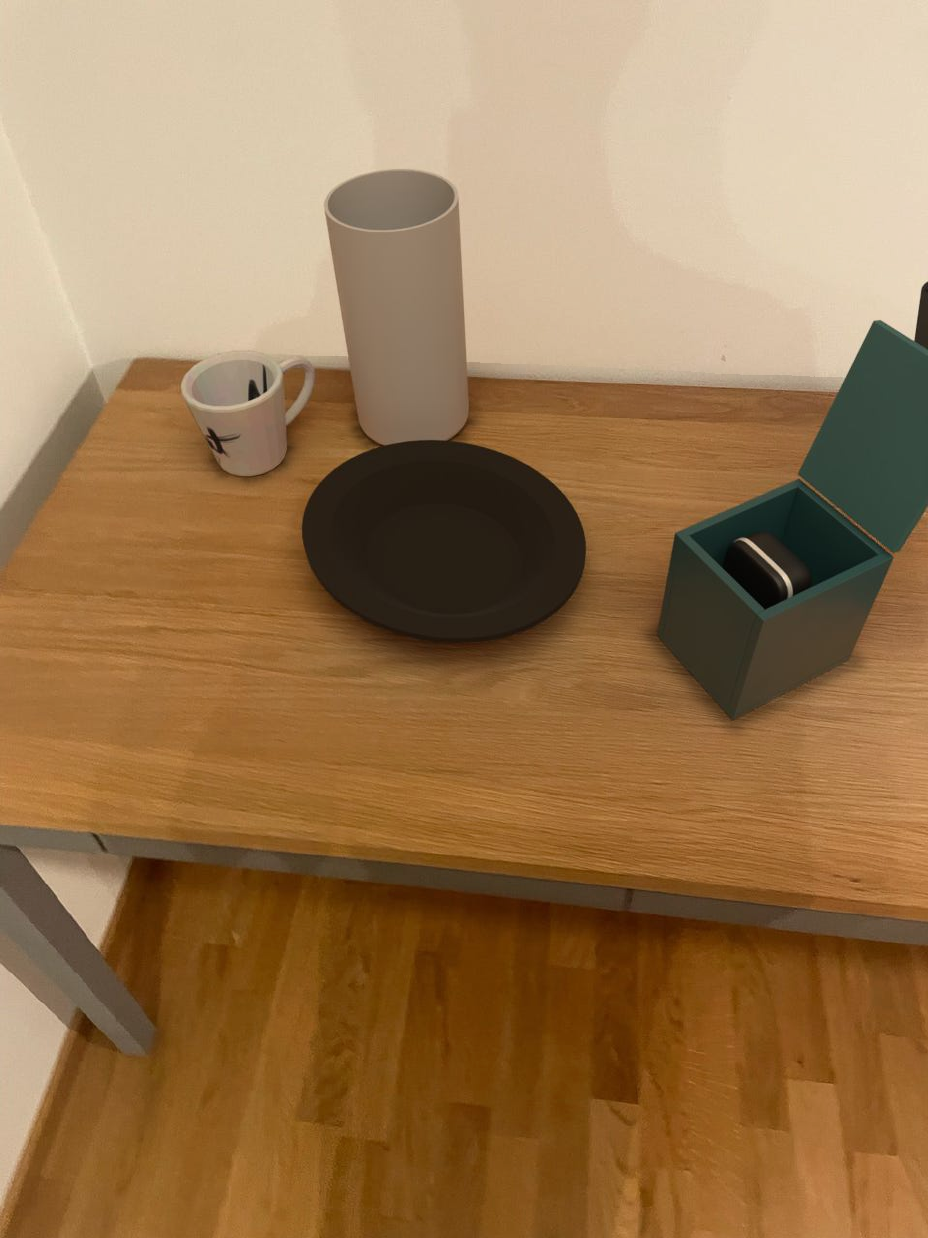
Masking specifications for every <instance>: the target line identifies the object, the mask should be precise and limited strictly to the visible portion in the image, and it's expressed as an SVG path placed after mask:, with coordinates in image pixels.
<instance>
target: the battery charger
mask: <svg viewBox="0 0 928 1238" xmlns="http://www.w3.org/2000/svg"><path fill="white" fill-rule="evenodd" d="M722 568H723V569H724V570H725V571H726V572H727V573H728V574H729V575H730V576H731V577H732V578H733V579H734V580H735V581H736V582H737V583H738V584H739V585H740V586H741V587H742V588H743V589H744V590H745V591H746V592H747V593H748V594H749V595H750V596H751V597H752V598H753V599H754V600H755V601H757V602H758V603H759V604H760V605H761V606H762V607H763V608H764V610H766V609H768V608H770V607H772V606H774V605H776V604H778V603H780V602H782V601H784V600H786V599H788V598H790V597H792V596H795V595H797V594H799V593H801V592H803V591H805V590H807V589H809V588H811V584H812V576H811V573H810V571H809V569H808V567H807V566H806V565H805V564H804V563H803V562H802V561H801V560H800V559H799V558H797V557H796V556H795V555H794V554H793V553H792V552H791V551H790V550H789V549H788V548H787V547H785V546H784V545H783V544H782V543H781V542H780V541H779V540H777V539H776V538H775V537H774V536H773V535H771V534H770V533H768V532H765V531H760V532H756V533H753V534H751V535H748V536H746V537H744V538H739V539H737V540H735V541H734V542H733V543H732V544H731V545H730V546H729V547H728V549H727V551H726V555H725V558H724V562H723V566H722Z"/></svg>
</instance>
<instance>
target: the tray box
mask: <svg viewBox="0 0 928 1238" xmlns="http://www.w3.org/2000/svg"><path fill="white" fill-rule="evenodd" d="M760 531H765V532H768V533H770V534H771V535H773V536H774V537H775V538H776V539H777V540H779V541H780V542H781V543H782V544H783V545H784V546H785V547H787V548H788V549H789V550H790V551H791V552H792V553H793V554H794V555H795V556H796V557H797V558H799V559H800V560H801V561H802V562H803V563H804V564H805V565H806V566H807V567H808V569H809V571H810V573H811V576H812V584H811V588H809V589H807V590H805V591H803V592H801V593H799V594H797V595H795V596H792V597H790V598H788V599H786V600H784V601H782V602H780V603H778V604H776V605H774V606H772V607H770V608H768V609H766V610H764V608H763V607H762V606H761V605H760V604H759V603H758V602H757V601H755V600H754V599H753V598H752V597H751V596H750V595H749V594H748V593H747V592H746V591H745V590H744V589H743V588H742V587H741V586H740V585H739V584H738V583H737V582H736V581H735V580H734V579H733V578H732V577H731V576H730V575H729V574H728V573H727V572H726V571H725V570H724V569H723V568H722V566H723V562H724V558H725V555H726V551H727V549H728V547H729V546H730V545H731V544H732V543H733V542H734V541H735V540H737V539H739V538H744V537H746V536H748V535H751V534H753V533H756V532H760ZM894 558H895V557H894V555H892V554H891V552H889V551H887V550H886V549H885V548H884V547H883V546H881V544H879V542H877V541H876V540H874V539H873V538H872V537H871V536H869V535H868V534H867V532H865V531H863V530H862V529H861V528H860V527H858V526H857V525H856V524H855V523H854V522H852V521H851V520H850V519H849V518H848V517H846V516H845V515H844V514H843V513H842V512H840V511H839V510H838V508H835V507H834V506H833V504H832V503H830V502H828V500H826V499H825V498H823V496H822V495H821V494H818V493H817V491H815V489H813V488H812V487H810V486H809V485H808V484H806V482H805V481H803V479H800V478H796V479H795V480H792V481H790V482H788V483H785V484H783V485H780V486H778V487H776V488H774V489H771V490H769V491H767V492H764V493H763V494H761V495H758V496H756V497H753V498H751V499H749V500H747V501H745V502H742V503H740V504H738V505H735V506H733V507H730V508H728V509H726V510H724V511H721V512H719V513H717V514H715V515H712V516H710V517H708V518H706V519H703V520H701V521H699V522H696V523H694V524H692V525H690V526H687V527H684V528H683V529H680V530H679V531H676V532H675V533H674V537H673V542H672V548H671V553H670V558H669V559H670V560H669V565H668V571H667V576H666V582H665V588H664V592H663V597H662V598H663V599H662V602H661V603H662V604H661V608H660V609H661V610H660V616H659V620H658V627H657V631H656V636H657V638H658V639H659V640H660V641H661V642H662V643H663V644H664V645H665V647H666V648H668V650H669V651H670V652H671V653H672V654H673V655H674V657H675V658H676V659H677V660H678V661H679V662H680V663H681V665H682V666H683V667H684V668H685V669H686V670H687V671H688V672H689V674H690V675H691V676H692V677H693V678H694V679H695V680H696V681H697V682H698V683H699V685H700V686H701V687H702V688H703V689H704V690H705V691H706V693H708V695H709V696H710V697H711V698H712V700H714V702H715V703H716V704H717V705H718V706H719V707H720V708H721V709H722V711H724V713H725V714H726V715H727V716H728V717H729V718H730V720H732V721H734V720H736V719H738V718H740V717H742V716H744V715H746V714H748V713H750V712H752V711H754V710H756V709H757V708H760V707H761V706H763V705H765V704H767V703H769V702H771V701H773V700H775V699H777V698H778V697H779V698H780V697H781V696H782V695H784V694H786V693H788V692H790V691H793V690H794V689H796V688H798V687H800V686H801V685H804V684H805V683H808V682H810V681H812V680H814V679H816V678H817V677H819V676H821V675H823V674H825V673H827V672H829V671H831V670H833V669H835V668H836V667H839V666H840V665H843V664H844V663H846V662H848V661H850V658H851V656H852V654H853V651H854V649H855V647H856V645H857V643H858V641H859V638H860V636H861V633H862V631H863V629H864V626H865V625H866V622H867V619H868V617H869V615H870V613H871V611H872V609H873V606H874V604H875V601H876V600H877V598H878V595H879V593H880V591H881V588H882V586H883V584H884V582H885V579H886V576H887V574H888V572H889V570H890V567H891V565H892V564H893V561H894Z"/></svg>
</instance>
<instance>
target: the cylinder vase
mask: <svg viewBox="0 0 928 1238" xmlns="http://www.w3.org/2000/svg"><path fill="white" fill-rule="evenodd" d="M324 198H325V199H324V201H323V209H324V216H325V222H326V228H327V235H328V239H329V240H328V241H329V246H330V247H329V248H330V252H331V259H332V265H333V271H334V278H335V284H336V289H337V296H338V301H339V302H338V303H339V307H340V309H339V310H340V314H341V320H342V326H343V334H344V338H345V347H346V351H347V358H348V363H349V370H350V376H351V381H352V388H353V389H352V390H353V394H354V401H355V407H356V413H357V419H358V424H359V425H360V428H361V429H362V431H363V433H364V434H365V435H366V436H367V437H368V438H369V439H370V440H372V441H374V442H375V443H376V444H379V445H381V446H385V445H389V444H394V443H400V442H406V441H417V440H445V441H450V439H453V438H454V437H455V436H456V435H457V434H459V432H460V431H462V429H463V428H464V426H465V424H466V423H467V421H468V417H469V414H470V401H469V383H468V381H469V380H468V362H467V360H468V359H467V341H466V340H467V339H466V321H465V319H466V318H465V303H464V302H465V300H464V299H465V298H464V281H463V280H464V279H463V261H462V258H463V257H462V240H461V239H462V238H461V222H460V221H461V220H460V218H461V217H460V201H459V199H460V198H459V191H458V188H457V187H456V185H455V184H454V183H452V181H451V180H449V179H448V178H446V177H444V176H442V175H439V174H436V173H434V172H430V171H425V170H421V169H411V168H390V169H380V170H375V171H369V172H366V173H362V174H358V175H355V176H353V177H350V178H348V179H346V180H344V181H342V182H341V183H339V184H337V185H336V186H335V187H333V188H332V189H331V190H330V191H329V192H328V193H327V194H326V197H324Z"/></svg>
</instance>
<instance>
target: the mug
mask: <svg viewBox="0 0 928 1238" xmlns="http://www.w3.org/2000/svg"><path fill="white" fill-rule="evenodd" d="M294 368H301V369H302V370H303V371H304V381H303V385H302V388H301V390H300V392H299V394H298V396H297V397H296V399H295V401H294V402H293V403H292V405H291V406H290V407H289V408H288V409H287V410H286V401H285V400H286V399H285V380H284V375H285V374H287V373H288V372H289V371H291V370H292V369H294ZM315 382H316V369H315V366H314V365H313V364H312V363H311V362H310V360H309V359H308V358H307V357H304V356H300V355H296V356H292V357H288V358H286V359H284V360H282V361H280V362H279V363H278V361H277V360H276V359H275V358H274V357H272V356H270V355H268V354H265V353H264V352H260V351H259V352H258V351H254V350H231V351H225V352H220V353H217V354H214V355H212V356H209V357H205V358H204V359H202V360H201V361H199V362H197V363H196V364H194V365H193V366H192V367H191V368H190V369H189V370H188V371H187V372H186V373H185V374H184V376H183V378H182V381H181V384H180V391H181V397H182V398H183V400H184V402H185V404H186V406H187V408H188V409H189V412H190V413H191V415H192V417H193V419H194V421H195V423H196V424H197V427H198V428H199V430H200V432H201V434H202V436H203V438H204V439H205V441H206V444H207V445H208V447H209V449H210V451H211V452H212V454H213V456H214V458H215V460H216V462H217V464H218V465H219V466H220V467H221V469H222V470H223V471H224V472H226V473H228V474H230V475H233V476H238V477H255V476H260V475H263V474H265V473H268V472H271V471H272V470H274V469H275V468H276V467H278V466H279V465H280V464H281V463H282V462H283V460H284V459H285V458H286V454H287V450H288V446H287V445H288V440H287V426H289V425H290V424H291V423H292V422H293V421H294V420H295V419H296V418H297V417H298V415H300V413H301V412H302V410H303V409H304V408H305V406H306V404H307V403H308V401H309V399H310V398H311V395H312V393H313V391H314V387H315Z"/></svg>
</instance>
